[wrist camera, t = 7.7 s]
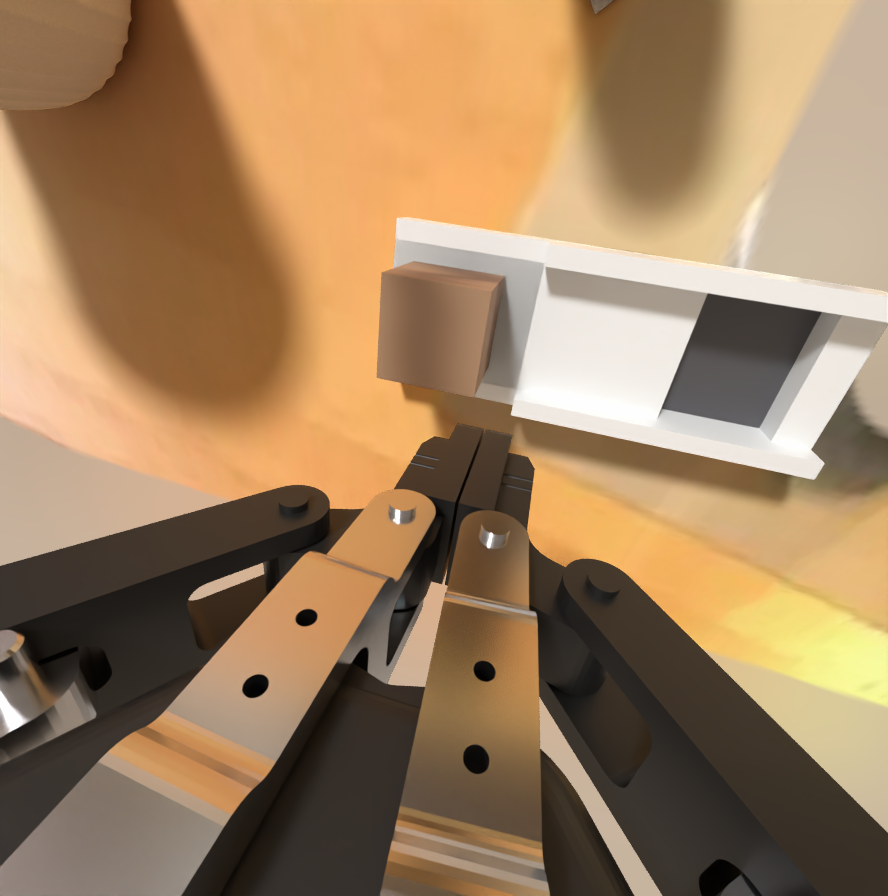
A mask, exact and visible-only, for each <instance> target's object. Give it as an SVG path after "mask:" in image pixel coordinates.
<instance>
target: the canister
mask: <svg viewBox="0 0 888 896" xmlns="http://www.w3.org/2000/svg"><path fill="white" fill-rule="evenodd" d="M130 8H131V0H0V110H42V109H51V108H63V107H67V106H70V105H72V104H74V103H76V102H80V101H83V100H86V99H88V98H89V97H90V96H91V95H92V94H93V93H94V92H96V91H98V90H100V89H102V87H103V86H104V85H105V82H106V80H107V79H108V78H110V77H112V76H113V75H114V72H115V67H116V65H117V63H118V62H120V61H121V60H122V57H123V54H122V52H123V48H124V46H125V44H126V43H127V42H128V36H127V34H128V26H129V23H130V22H131V20H132V18H131V11H130Z"/></svg>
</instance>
